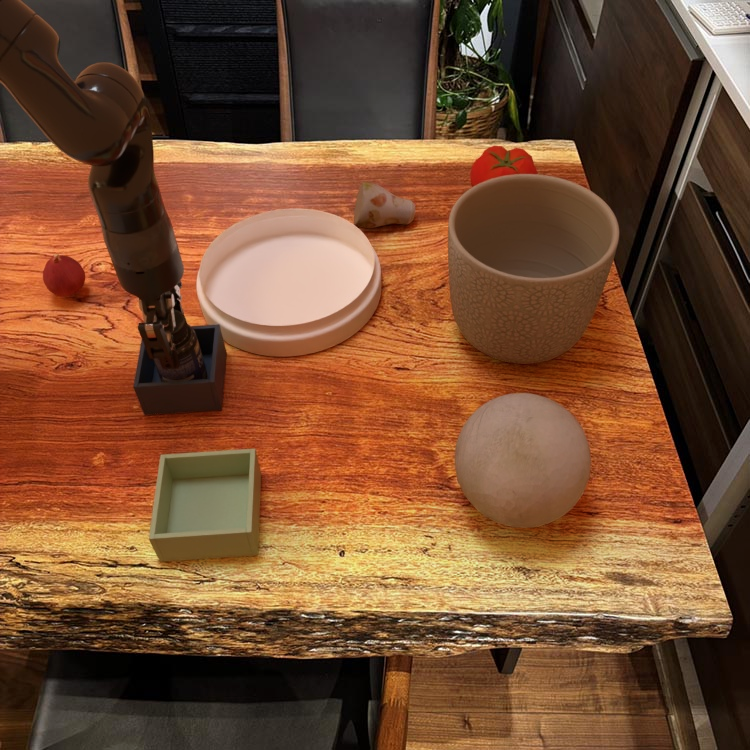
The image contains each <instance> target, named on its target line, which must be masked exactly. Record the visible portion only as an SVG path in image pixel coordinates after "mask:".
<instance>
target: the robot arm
mask: <svg viewBox="0 0 750 750" xmlns="http://www.w3.org/2000/svg"><path fill="white" fill-rule="evenodd" d="M60 49H61V39H60V36H59V34H58V33H57V31H56V30H55V29H54V28H53V27H52V26H51V25H50V24H49V23H48V22H47V21H46V20H44V19H43V18H42V17H41V16H40V15H38V14H36V12H35V11H34V10H33V9H32V8H31V7H29V6H28V5H27V4H26V3H24V2H23V1H22V0H0V84H1V85H2V86H4V88H5V89H6V90H7V91H8V92H9V94H11V96H12V97H13V98H14V100H15V102H17V104H18V105H19V106H20V107H21V109H22V110H23V111H24V112H25V113H26V115H28V117H29V118H30V119H31V120H32V121H33V123H34V124H35V125H36V126H37V127H38V129H39V130H40V131H41V132H42V134H44V136H45V137H46V138H47V139H48V140H49V141H50V142H51V143H52V144H53V145H54V146H55V147H56V148H57V149H58V150H59V151H61V152H62V153H63V154H65V155H66V156H68V157H69V158H71V159H73V160H74V161H77V162H78V163H82V164H84V165H87V166H90V169H89V173H88V179H87V186H88V187H87V188H88V191H89V195H90V198H91V200H92V204H93V206H94V209H95V212H96V216H97V218H98V220H99V224H100V227H101V233H102V238H103V241H104V244H105V247H106V250H107V253H108V255H109V258H110V260H111V261H110V262H111V263H112V266H113V269H114V271H115V274H116V277H117V279H118V281H119V285H120V287H121V288H122V289H123V290H124V291H125V292H126V293H128V294H130V295H132V296H134V297H136V298H138V299H137V300H138V306H139V307H138V308H139V310H140V311H141V313H142V318H143V322H138V325H137V330H138V333H139V336H140V338H141V340H143V343H144V345H145V348H146V350H147V353H148V355H149V358H150V359H157V358H159V361H160V364H161V367H162V368H163V369H166V370H167V369H178V368H179V367H180V361H179V357H178V354H177V351H176V348H175V344H174V339H173V331H174V330H175V328H176V324H175V317H174V310H178V311H180V312H182V313H183V314H184V315H185V313H184V310H183V306H182V303H181V302H182V297H183V296H182V295H181V289H182V286H183V283H182V278H183V276H184V273H185V265H184V263H183V259H182V255H181V252H180V248H179V244H178V240H177V238H176V234H175V231H174V226H173V224H172V221H171V218H170V216H169V213H168V212H167V209H166V206H165V204H164V200H163V195H162V192H161V188H160V185H159V182H158V179H157V177H156V173H155V156H154V155H155V154H154V153H155V151H154V140H153V127H152V118H151V111H150V106H149V103H148V100H147V97H146V95H145V92H144V91H143V88H142V87H141V85H140V83H139V82H138V81H137V79H136V78H135V77H134V76H133V75H132V74H131V73H130V72H129V71H128V70H127V69H124V68H123V67H122V66H119V65H118V64H115V63H112V62H96V63H93V64H91V65H88V66H87V67H86V68H84V69H83V70H82V71H80V73H79V74H78V76H77V77H76V79H72V78H71V76H70V75H69V74H68V72H67V71H66V70H65V69H64V67H63V66H62V65H61V63H60V61H59V53H60ZM173 309H174V310H173ZM166 319H168V321H169V324H164V325H162V323H161V321H160V322H157V321H159V320H166ZM165 333H166V334H165ZM166 335H167V337H166Z"/></svg>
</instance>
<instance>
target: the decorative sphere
mask: <svg viewBox="0 0 750 750" xmlns="http://www.w3.org/2000/svg"><path fill="white" fill-rule="evenodd" d="M588 440H589V439H588V437H587V435H586V433H585V431H584V429H583V427H582V425H581V424H580V422H579V421H578V420H577V418H576V417H575V416H574V415H573V414H572V413H571V412H570V411H569V410H568V409H567V408H565V407H564V406H563V405H562V404H560V403H559V402H557V401H555V400H553V399H551V398H548V397H547V396H543V395H540V394H535V393H528V392H514V393H513V392H512V393H508V394H504V395H499V396H496V397H495V398H492V399H490V400H488V401H487V402H485V403H484V404H482V405H480V406H479V407H478V408H477V409H476V410H475V411H474V412H473V413H471V415H470V416H469V417H468V418H467V420H466V421H465V423H464V424H463V425H462V428H461V429H460V432H459V434H458V437H457V440H456V443H455V449H454V450H455V451H454V468H455V474H456V479H457V482H458V484H459V486H460V489H461V491H462V493H463V494H464V496H465V498H466V499H467V500H468V502H469V503H470V504H471V505H472V506H473V507H474V508H475V510H477V511H478V512H479V513H480V514H482V515H483V516H484V517H485V518H488V519H490V520H491V521H493V522H495V523H497V524H500V525H503V526H506V527H507V526H508V527H511V528H518V529H526V528H527V529H528V528H532V529H533V528H537V527H542V526H545V525H548V524H550V523H553V522H555V521H557V520H559V519H561V518H562V517H563V516H565V515H566V514H568V512H570V511H571V510H572V509H573V508H574V507H575V506H576V504H577V503H579V500H580V499H581V498H582V496H583V494H584V492H585V491H586V487H587V486H588V484H589V481H590V474H591V470H592V469H591V468H592V456H591V448H590V445H589V441H588Z"/></svg>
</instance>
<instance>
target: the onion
mask: <svg viewBox="0 0 750 750" xmlns="http://www.w3.org/2000/svg"><path fill="white" fill-rule="evenodd" d="M86 278H87V277H86V271H85V269H84V268H83V266H82V265H81V263H79V261H77V260H76V259H74V258H73V257H71V256H69V255H62V254H58V253H55V254H53V256H52V257H51V258H50V259H48V261H47V262H46V263H45V265H44V267H43V270H42V281H43V284H44V285H45V287H46V289H47V290H48V291H49V292H50V293H52V294H54V295H55V296H57V297H63V298H73V297H75V296H76V295H78V293H79V292H80V291H81V290H82V289H83V287H84V285H85V282H86Z"/></svg>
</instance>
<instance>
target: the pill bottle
mask: <svg viewBox="0 0 750 750" xmlns="http://www.w3.org/2000/svg"><path fill="white" fill-rule="evenodd" d="M173 310H174V309H173ZM183 313H184V312H183ZM183 313H182V312H180V311H178V310H174V317H175V324H176V328H175V330H174V331H173V339H174V344H175V348H176V351H177V354H178V357H179V361H180V367H179V368H178V369H167V370H166V369H163V368H162V367H161V364H160V361H159V358H157V359H153V360H154V363H155V366H156V368H157V371H158V374H159V377H160V379H161V382H170V381H186V380H201V379H207V370H206V366H205V363H204V360H203V356H202V353H201V349H200V346H199V343H198V339H197V335H196V333H195V331H194V329H193V328H192V327H191V326H192V325H190V324H188V321H187V319H186V316H185V313H184V314H183ZM160 321H161V323H162V325H164V324H169V321H168V319H166V320H159V321H157V322H160ZM165 334H166V333H165ZM166 337H167V335H166Z"/></svg>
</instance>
